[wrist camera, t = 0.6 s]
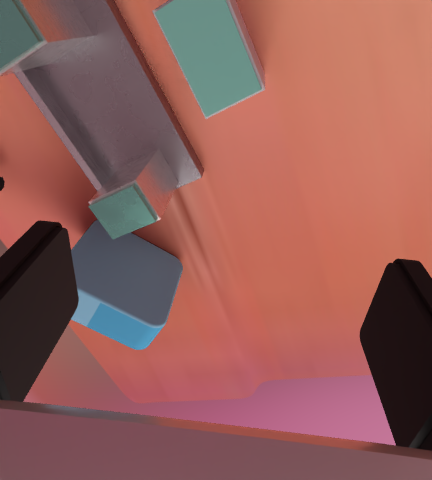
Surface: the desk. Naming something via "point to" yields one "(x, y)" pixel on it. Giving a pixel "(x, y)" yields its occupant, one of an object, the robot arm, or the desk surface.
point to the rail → (100, 104)
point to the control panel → (1, 183)
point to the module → (212, 51)
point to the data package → (123, 286)
